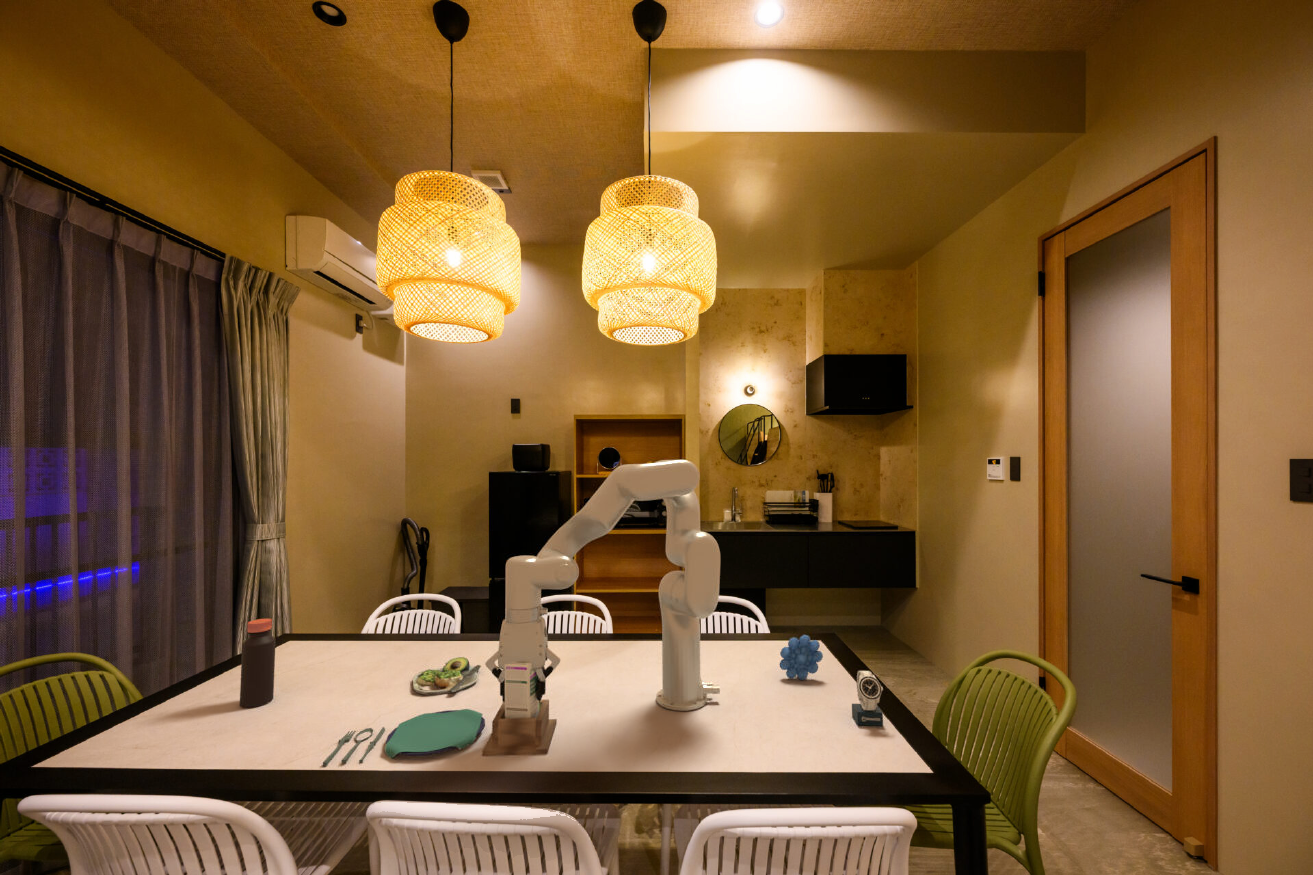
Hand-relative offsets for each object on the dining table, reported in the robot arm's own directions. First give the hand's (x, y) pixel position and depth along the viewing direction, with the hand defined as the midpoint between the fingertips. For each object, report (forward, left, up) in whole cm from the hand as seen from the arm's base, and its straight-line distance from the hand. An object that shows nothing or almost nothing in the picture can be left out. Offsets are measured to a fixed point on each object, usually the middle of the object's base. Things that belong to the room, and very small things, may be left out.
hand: (522, 697), depth 115 cm
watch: (-77, -3, -9) cm, 77 cm away
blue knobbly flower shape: (-70, -29, -9) cm, 76 cm away
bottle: (+70, -22, -9) cm, 74 cm away
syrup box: (0, 0, -6) cm, 6 cm away
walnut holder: (0, 0, -9) cm, 9 cm away
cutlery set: (+24, -1, -9) cm, 25 cm away
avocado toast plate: (+27, -33, -9) cm, 44 cm away
